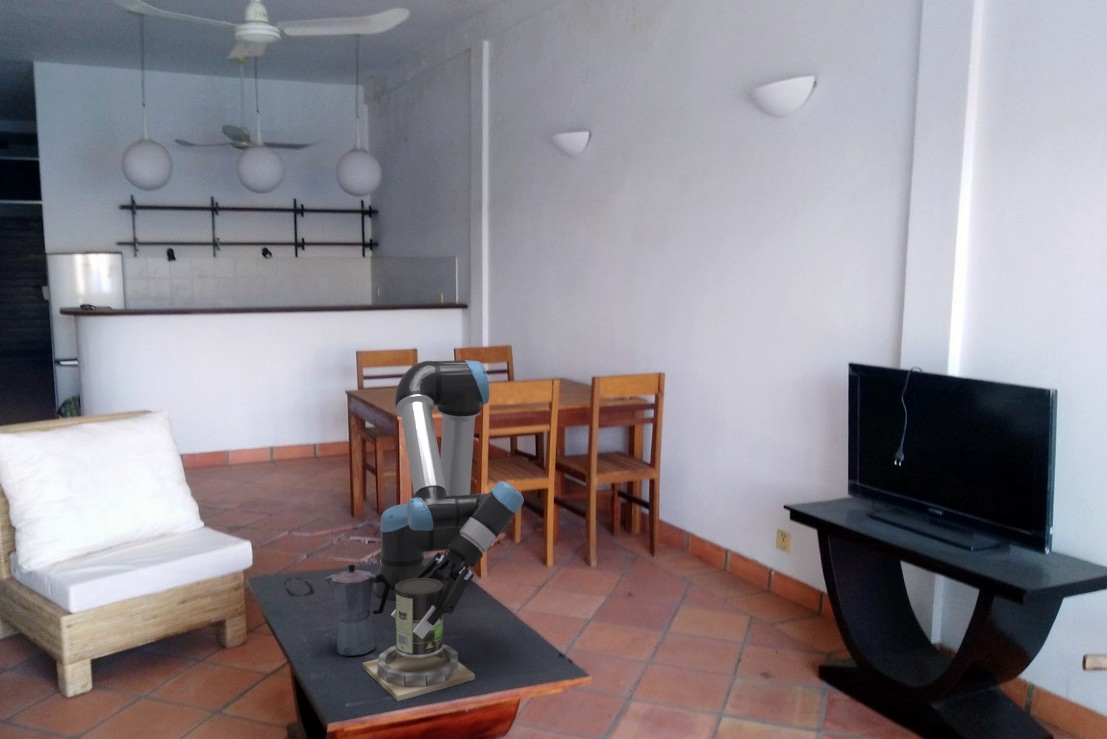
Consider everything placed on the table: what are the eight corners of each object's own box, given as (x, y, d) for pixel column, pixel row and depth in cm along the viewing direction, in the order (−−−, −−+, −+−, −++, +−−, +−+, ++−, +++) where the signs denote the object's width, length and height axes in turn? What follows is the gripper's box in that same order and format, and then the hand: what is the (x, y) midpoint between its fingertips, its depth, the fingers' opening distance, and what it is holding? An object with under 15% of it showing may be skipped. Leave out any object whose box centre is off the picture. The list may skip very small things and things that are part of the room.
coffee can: (449, 641, 195) (449, 579, 194) (434, 660, 185) (434, 595, 184) (405, 636, 197) (405, 575, 196) (387, 655, 187) (387, 591, 186)
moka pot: (330, 639, 209) (330, 557, 207) (395, 641, 209) (395, 559, 207) (318, 656, 200) (318, 570, 197) (386, 658, 199) (386, 573, 197)
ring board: (362, 668, 194) (362, 652, 194) (435, 649, 205) (436, 634, 204) (397, 701, 180) (398, 684, 179) (474, 679, 190) (475, 663, 190)
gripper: (508, 567, 189) (442, 654, 181) (456, 540, 207) (395, 619, 200) (487, 546, 185) (418, 635, 178) (436, 521, 204) (373, 600, 196)
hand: (406, 626), depth 189 cm, fingers closed on coffee can, 10 cm apart
